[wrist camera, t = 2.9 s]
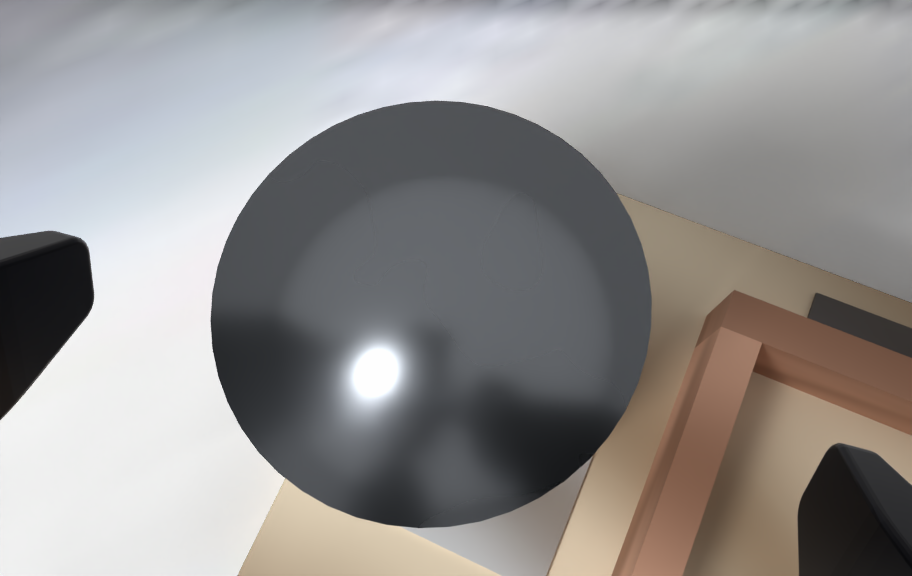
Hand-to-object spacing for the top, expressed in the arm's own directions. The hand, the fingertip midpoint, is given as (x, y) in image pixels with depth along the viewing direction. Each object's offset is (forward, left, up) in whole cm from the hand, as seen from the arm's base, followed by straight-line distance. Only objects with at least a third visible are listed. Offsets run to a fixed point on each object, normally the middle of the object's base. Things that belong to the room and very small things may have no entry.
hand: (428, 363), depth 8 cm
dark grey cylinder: (0, 0, -7) cm, 7 cm away
